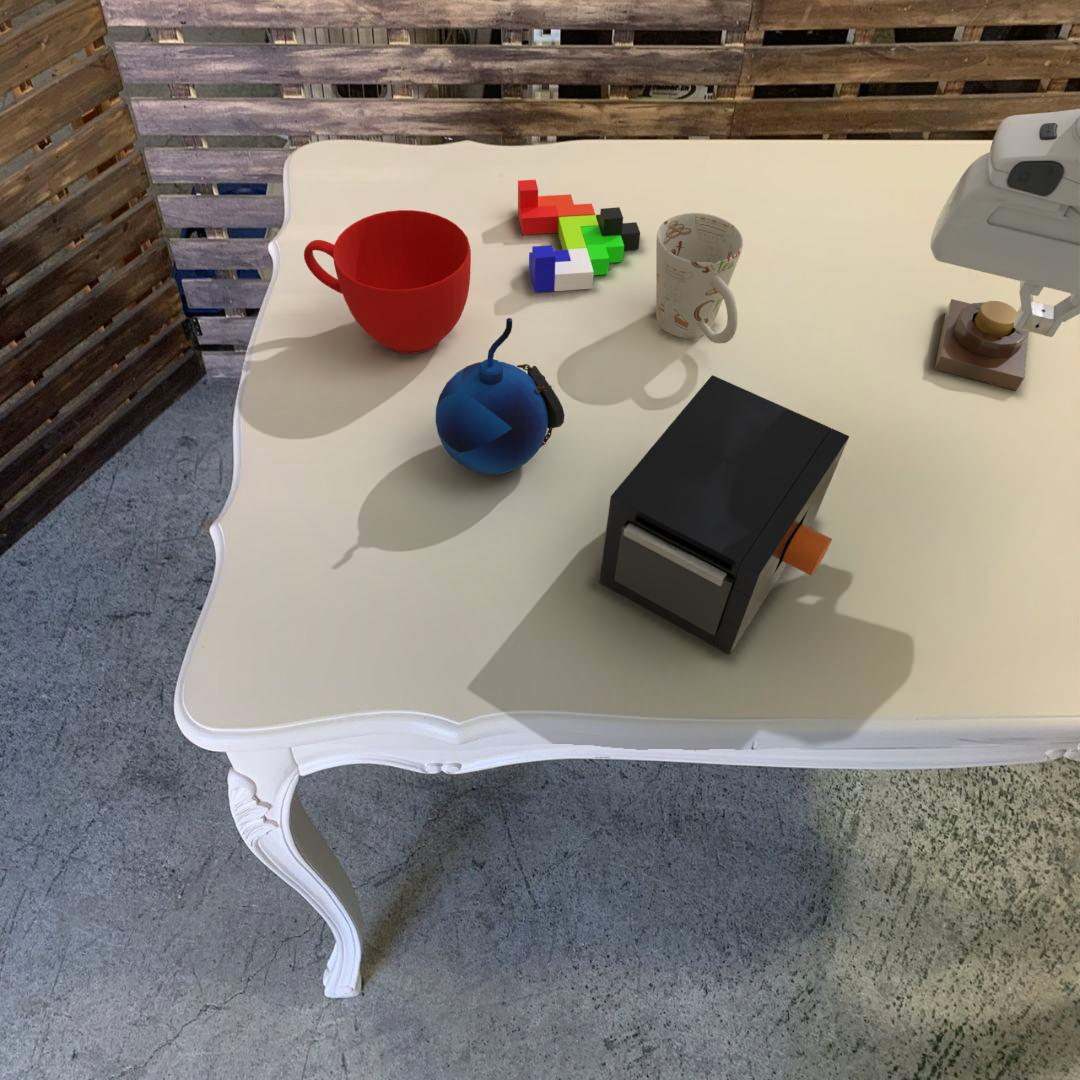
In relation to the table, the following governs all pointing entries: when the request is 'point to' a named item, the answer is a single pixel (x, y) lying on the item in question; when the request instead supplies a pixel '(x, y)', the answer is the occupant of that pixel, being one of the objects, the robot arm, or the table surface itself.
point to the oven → (717, 510)
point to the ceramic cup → (400, 276)
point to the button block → (980, 349)
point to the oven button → (806, 549)
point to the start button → (995, 318)
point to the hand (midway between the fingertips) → (1032, 328)
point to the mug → (696, 275)
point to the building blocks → (572, 239)
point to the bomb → (496, 414)
